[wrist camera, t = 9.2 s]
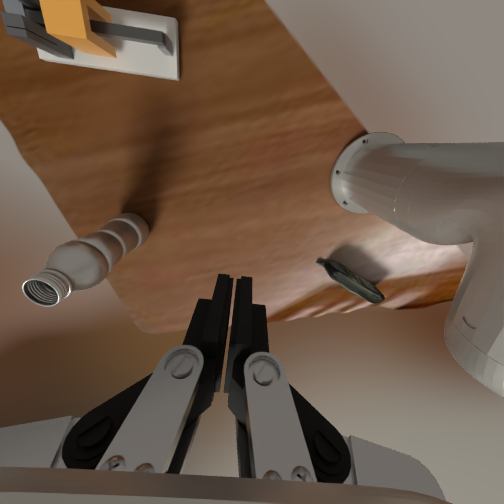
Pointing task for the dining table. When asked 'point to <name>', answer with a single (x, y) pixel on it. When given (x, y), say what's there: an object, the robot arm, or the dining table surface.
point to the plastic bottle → (86, 260)
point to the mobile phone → (352, 282)
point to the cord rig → (116, 34)
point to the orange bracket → (77, 24)
